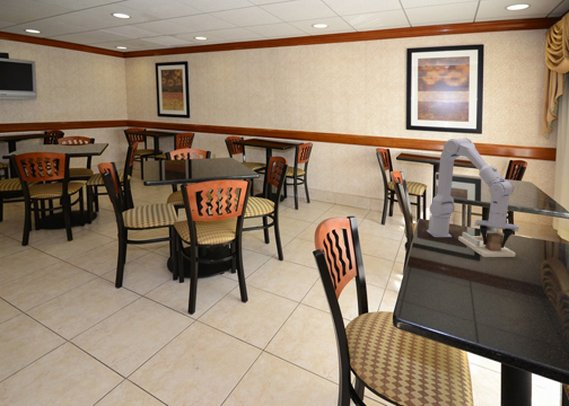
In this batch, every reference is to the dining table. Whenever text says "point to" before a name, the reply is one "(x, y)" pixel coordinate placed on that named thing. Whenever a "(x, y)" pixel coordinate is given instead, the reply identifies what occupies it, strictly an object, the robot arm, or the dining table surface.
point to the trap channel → (483, 246)
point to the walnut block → (494, 241)
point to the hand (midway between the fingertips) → (493, 245)
